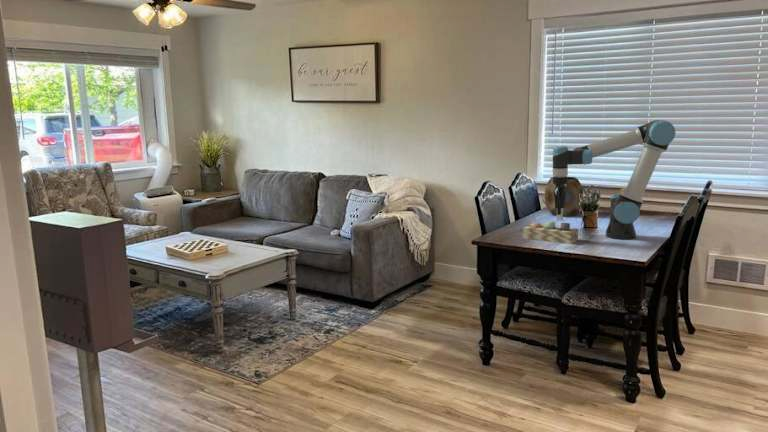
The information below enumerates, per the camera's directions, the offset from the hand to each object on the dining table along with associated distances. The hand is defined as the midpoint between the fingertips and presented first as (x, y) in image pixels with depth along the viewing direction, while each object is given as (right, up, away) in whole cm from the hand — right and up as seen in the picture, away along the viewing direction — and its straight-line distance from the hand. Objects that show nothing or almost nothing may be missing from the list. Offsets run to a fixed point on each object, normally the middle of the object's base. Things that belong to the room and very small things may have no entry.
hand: (559, 220), depth 305 cm
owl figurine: (+65, +4, +70) cm, 95 cm away
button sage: (-4, -5, +4) cm, 7 cm away
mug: (+25, +9, +102) cm, 105 cm away
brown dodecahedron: (+25, +3, +74) cm, 78 cm away
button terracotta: (-10, -6, +9) cm, 15 cm away
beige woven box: (-4, -10, +5) cm, 12 cm away
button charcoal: (+2, -6, -1) cm, 6 cm away
